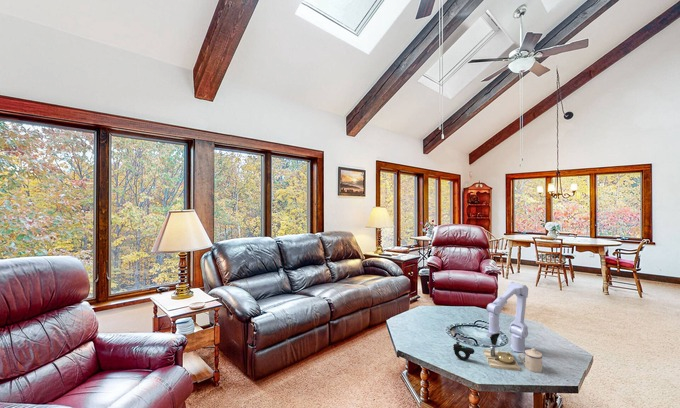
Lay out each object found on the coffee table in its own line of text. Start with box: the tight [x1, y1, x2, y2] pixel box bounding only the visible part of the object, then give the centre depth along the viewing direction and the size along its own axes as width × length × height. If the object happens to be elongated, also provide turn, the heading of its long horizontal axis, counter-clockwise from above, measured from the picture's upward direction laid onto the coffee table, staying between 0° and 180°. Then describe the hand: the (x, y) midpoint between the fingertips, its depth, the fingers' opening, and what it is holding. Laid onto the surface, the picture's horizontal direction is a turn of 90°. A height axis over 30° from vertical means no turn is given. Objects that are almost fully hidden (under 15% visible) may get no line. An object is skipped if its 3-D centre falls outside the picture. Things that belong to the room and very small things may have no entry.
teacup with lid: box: [518, 347, 544, 373], centre depth 178 cm, size 12×9×12 cm
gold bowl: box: [490, 345, 515, 364], centre depth 184 cm, size 13×9×7 cm
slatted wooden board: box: [483, 349, 521, 372], centre depth 186 cm, size 19×16×2 cm
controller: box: [452, 341, 475, 361], centre depth 188 cm, size 4×12×10 cm, turn 56°
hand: (493, 344), depth 190 cm, fingers closed
